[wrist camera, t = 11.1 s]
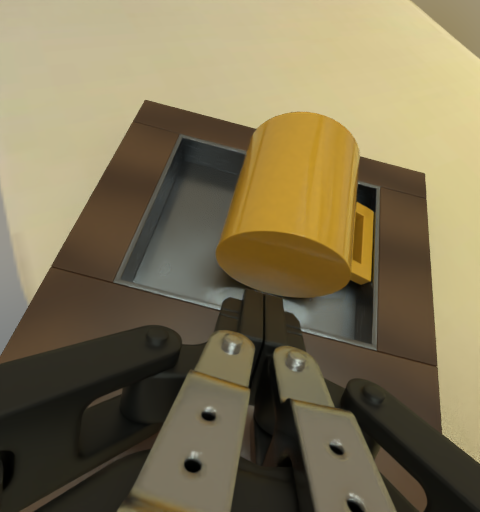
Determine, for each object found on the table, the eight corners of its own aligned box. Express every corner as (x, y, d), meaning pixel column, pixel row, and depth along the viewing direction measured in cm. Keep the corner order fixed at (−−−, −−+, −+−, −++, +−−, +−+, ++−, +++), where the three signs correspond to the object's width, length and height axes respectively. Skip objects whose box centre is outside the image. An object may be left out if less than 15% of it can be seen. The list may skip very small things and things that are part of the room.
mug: (254, 209, 14) (285, 87, 18) (197, 265, 20) (229, 165, 24) (420, 293, 17) (415, 172, 20) (324, 319, 23) (335, 222, 27)
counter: (422, 774, 13) (470, 847, 11) (-121, 639, 13) (-188, 685, 10) (406, 193, 27) (425, 173, 25) (149, 126, 27) (145, 99, 24)
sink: (356, 358, 20) (377, 350, 18) (121, 297, 20) (112, 282, 18) (364, 206, 26) (380, 186, 23) (181, 158, 26) (179, 133, 23)
